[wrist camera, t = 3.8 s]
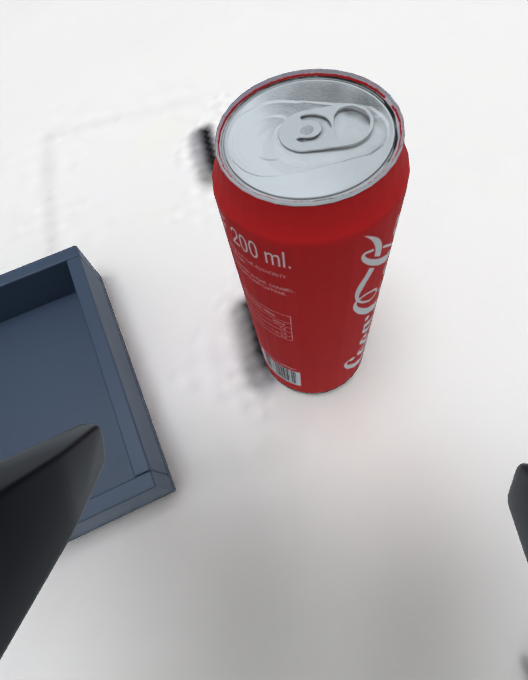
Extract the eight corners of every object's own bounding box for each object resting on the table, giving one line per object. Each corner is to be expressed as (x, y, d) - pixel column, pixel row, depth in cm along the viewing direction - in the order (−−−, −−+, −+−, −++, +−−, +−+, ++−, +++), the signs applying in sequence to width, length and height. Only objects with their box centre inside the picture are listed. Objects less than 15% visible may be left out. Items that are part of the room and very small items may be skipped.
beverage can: (350, 407, 23) (441, 248, 9) (238, 379, 24) (168, 198, 10) (369, 313, 25) (465, 69, 11) (265, 291, 26) (237, 42, 12)
